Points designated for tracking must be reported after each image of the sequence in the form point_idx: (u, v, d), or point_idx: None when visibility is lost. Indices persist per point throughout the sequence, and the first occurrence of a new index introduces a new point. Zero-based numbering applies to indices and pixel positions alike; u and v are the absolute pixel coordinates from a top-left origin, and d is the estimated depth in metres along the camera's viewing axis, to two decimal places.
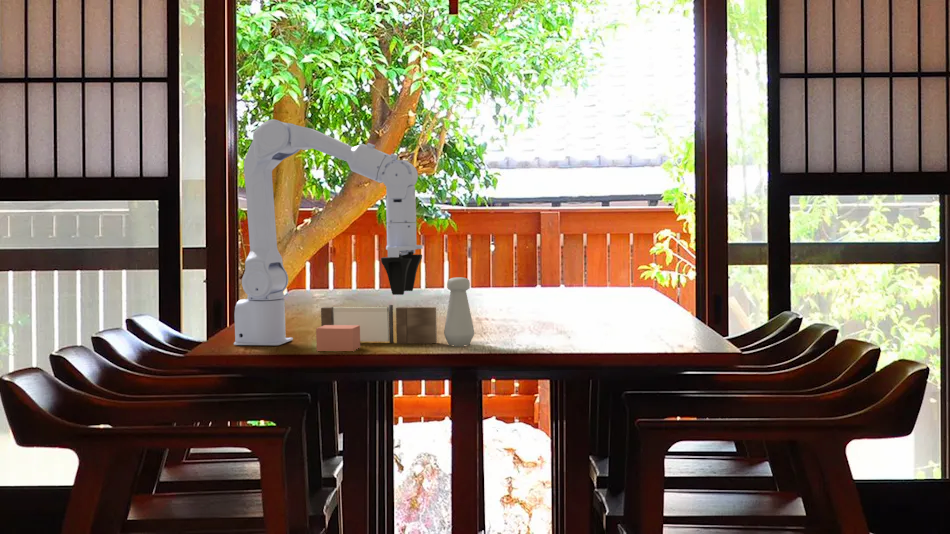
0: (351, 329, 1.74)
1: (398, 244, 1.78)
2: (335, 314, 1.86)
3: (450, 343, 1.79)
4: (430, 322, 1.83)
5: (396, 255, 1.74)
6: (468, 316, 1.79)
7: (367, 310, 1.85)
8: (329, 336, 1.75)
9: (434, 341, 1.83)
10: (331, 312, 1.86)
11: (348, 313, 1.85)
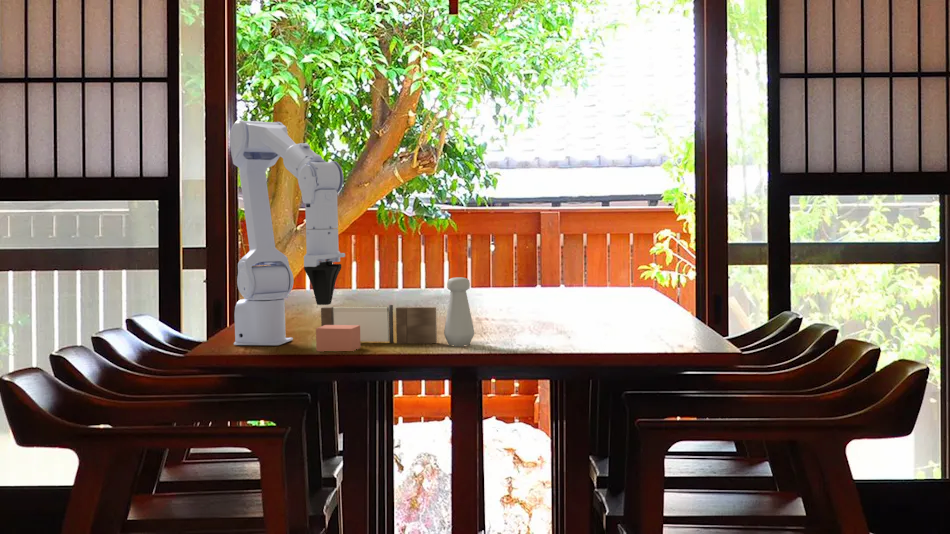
0: (350, 329, 1.74)
1: (317, 252, 1.65)
2: (335, 314, 1.86)
3: (450, 343, 1.79)
4: (430, 322, 1.83)
5: (313, 264, 1.61)
6: (468, 316, 1.79)
7: (367, 310, 1.85)
8: (329, 336, 1.75)
9: (434, 341, 1.83)
10: (331, 312, 1.86)
11: (348, 313, 1.85)
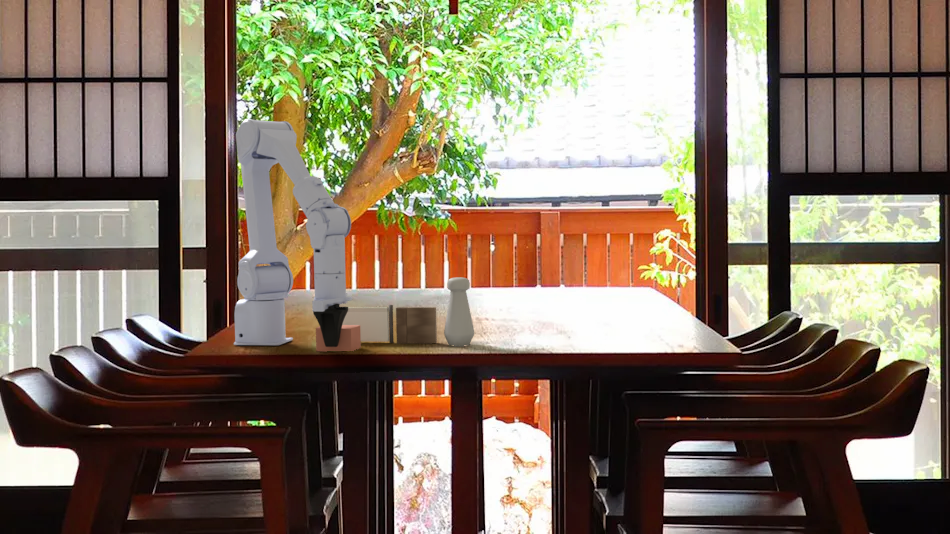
0: (350, 329, 1.74)
1: (325, 296, 1.70)
2: None
3: (450, 343, 1.79)
4: (430, 322, 1.83)
5: (321, 309, 1.65)
6: (468, 316, 1.79)
7: (367, 310, 1.85)
8: None
9: (434, 341, 1.83)
10: None
11: (348, 313, 1.85)
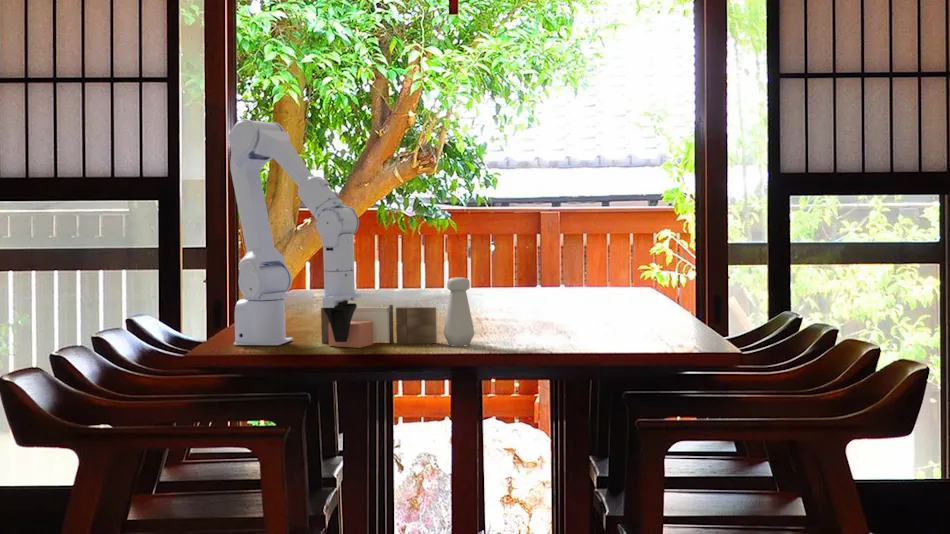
0: (358, 325, 1.78)
1: (335, 293, 1.75)
2: None
3: (450, 343, 1.79)
4: (430, 322, 1.83)
5: (331, 305, 1.71)
6: (468, 316, 1.79)
7: (367, 310, 1.85)
8: None
9: (434, 341, 1.83)
10: None
11: None
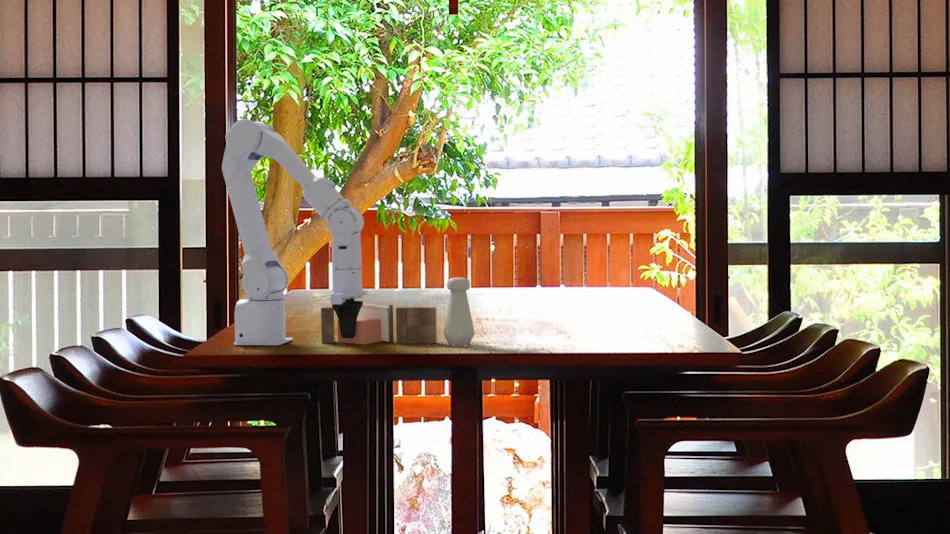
0: (362, 322, 1.83)
1: (343, 290, 1.81)
2: None
3: (450, 343, 1.79)
4: (430, 322, 1.83)
5: (339, 302, 1.76)
6: (468, 316, 1.79)
7: (375, 308, 1.88)
8: None
9: (434, 341, 1.83)
10: (331, 312, 1.86)
11: (365, 310, 1.91)
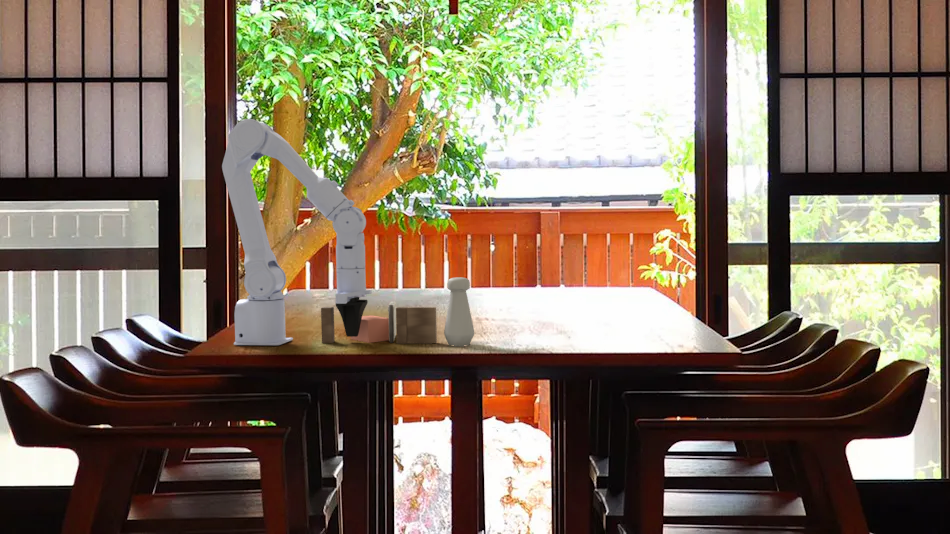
0: (368, 321, 1.86)
1: (347, 290, 1.83)
2: None
3: (450, 343, 1.79)
4: (430, 322, 1.83)
5: (344, 301, 1.79)
6: (468, 316, 1.79)
7: None
8: None
9: (434, 341, 1.83)
10: (331, 312, 1.86)
11: None
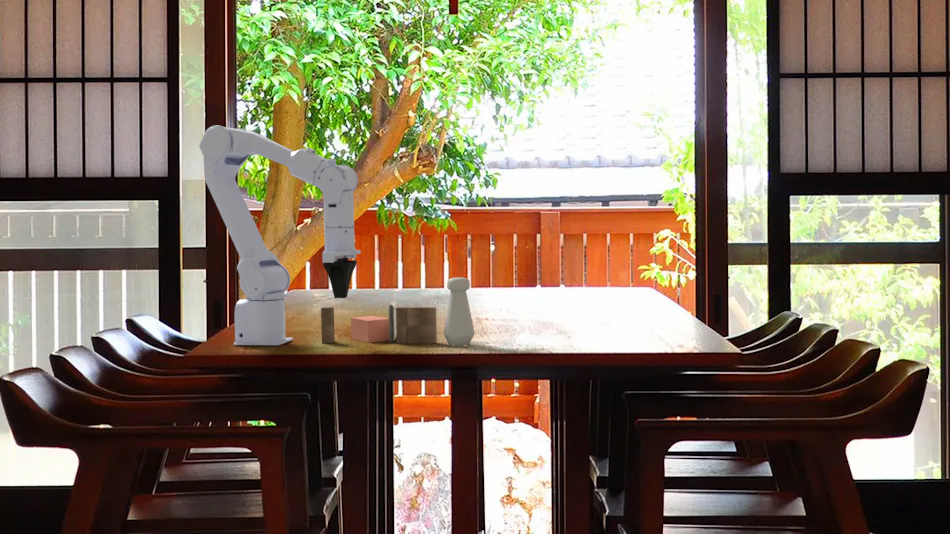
0: (367, 321, 1.86)
1: (335, 249, 1.78)
2: None
3: (450, 343, 1.79)
4: (430, 322, 1.83)
5: (331, 260, 1.74)
6: (468, 316, 1.79)
7: None
8: (357, 326, 1.89)
9: (434, 341, 1.83)
10: (331, 312, 1.86)
11: None
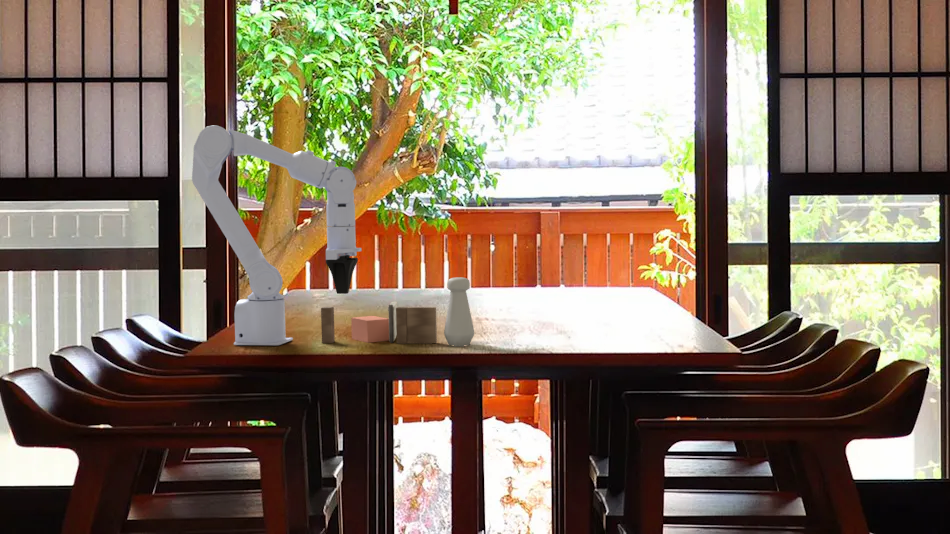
0: (367, 321, 1.86)
1: (337, 247, 1.87)
2: None
3: (450, 343, 1.79)
4: (430, 322, 1.83)
5: (334, 257, 1.82)
6: (468, 316, 1.79)
7: None
8: (357, 326, 1.89)
9: (434, 341, 1.83)
10: (331, 312, 1.86)
11: None
